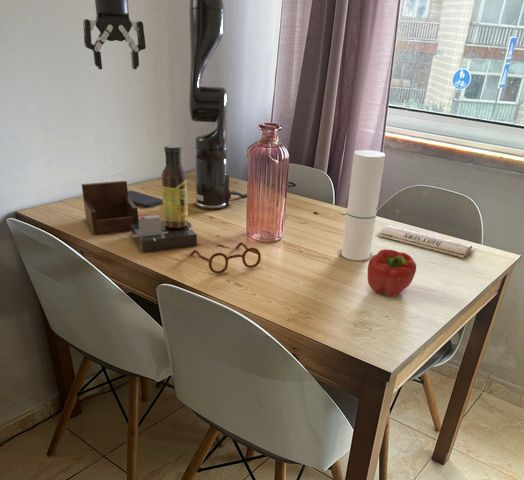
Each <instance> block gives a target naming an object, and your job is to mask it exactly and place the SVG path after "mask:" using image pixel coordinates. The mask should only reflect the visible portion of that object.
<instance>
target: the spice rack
mask: <svg viewBox="0 0 524 480" xmlns="http://www.w3.org/2000/svg"><path fill="white" fill-rule="evenodd" d="M81 190H82V191H81V192H82V198H83V199H82V200H83V207H84V214H85V220H86V223H87V224H88V226H89V228H90V229H91V232H92V233H93V235H101V234H110V233H118V232H120V233H121V232H129V231H130V232H131V225H135V224H139V220H138V217H139V211H138V207H137V205H136V204H134V203H133V202H132V201H131V199H130V198H129V197H128V191H129V190H128V181H127V180H118V181H103V182H93V183H81Z"/></svg>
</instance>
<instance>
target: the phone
mask: <svg viewBox="0 0 524 480" xmlns="http://www.w3.org/2000/svg"><path fill="white" fill-rule="evenodd" d="M127 191H128V197H129V198H130V199H131V201H132V202H133V203H134V204H135V205H136V206H140V207H143V208H149V207H152V206H156V205H159V204H163V198H159V197H155V196H151V195H149V194H145V193H141V192H138V191H134V190H127Z"/></svg>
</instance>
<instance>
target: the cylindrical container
mask: <svg viewBox="0 0 524 480" xmlns="http://www.w3.org/2000/svg"><path fill="white" fill-rule="evenodd" d="M385 159H386V153H385V152H382V151H379V150H373V149H358V150H354V152H353V158H352V166H351V175H350V183H349V191H348V198H347V207H346V213H345V214H346V215H345V223H344V231H343V232H344V233H343V238H342V246H341V256H342V257H343V258H345V259H347V260H349V261H350V260H351V261H366V260H369V259H370V258H371V250H372V244H373V238H374V237H373V236H374V232H375V231H374V230H375V224H376V218H377V212H378V205H379V199H380V192H381V187H382V179H383V172H384V166H385Z"/></svg>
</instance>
